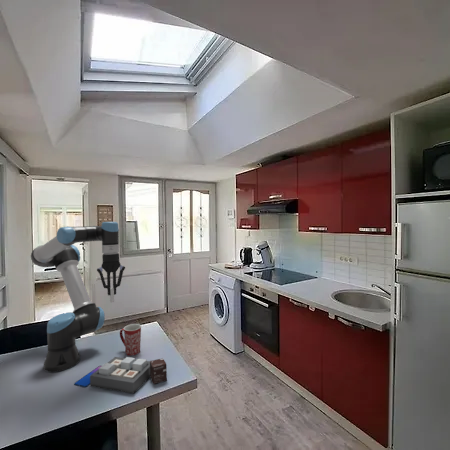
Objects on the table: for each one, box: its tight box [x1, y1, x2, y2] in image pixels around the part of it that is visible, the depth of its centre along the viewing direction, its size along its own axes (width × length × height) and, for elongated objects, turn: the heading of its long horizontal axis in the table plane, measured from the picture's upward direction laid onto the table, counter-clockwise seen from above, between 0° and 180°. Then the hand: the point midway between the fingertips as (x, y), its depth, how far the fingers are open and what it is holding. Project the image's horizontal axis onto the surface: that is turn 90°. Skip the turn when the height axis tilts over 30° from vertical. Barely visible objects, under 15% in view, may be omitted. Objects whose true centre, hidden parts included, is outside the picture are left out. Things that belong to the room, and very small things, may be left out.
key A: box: [111, 359, 123, 370], centre depth 120 cm, size 4×4×3 cm
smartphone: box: [73, 365, 102, 388], centre depth 118 cm, size 7×1×15 cm
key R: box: [121, 356, 136, 370], centre depth 119 cm, size 4×4×3 cm
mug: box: [119, 323, 142, 357], centre depth 140 cm, size 13×9×14 cm
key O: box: [99, 362, 115, 375], centre depth 114 cm, size 4×4×3 cm
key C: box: [123, 370, 139, 379], centre depth 111 cm, size 4×4×3 cm
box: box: [149, 357, 168, 385], centre depth 115 cm, size 6×6×7 cm
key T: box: [111, 369, 126, 378], centre depth 112 cm, size 4×4×3 cm
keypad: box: [89, 356, 151, 395], centre depth 116 cm, size 21×16×4 cm
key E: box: [132, 358, 148, 372], centre depth 117 cm, size 4×4×3 cm
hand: (112, 301), depth 128 cm, fingers closed
